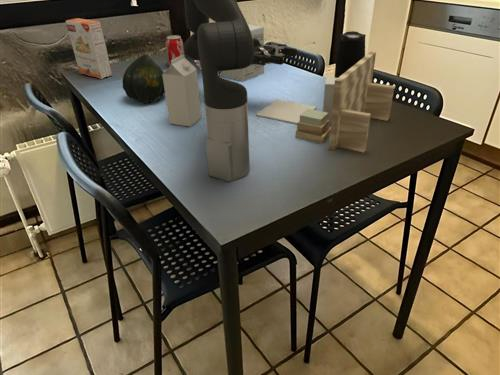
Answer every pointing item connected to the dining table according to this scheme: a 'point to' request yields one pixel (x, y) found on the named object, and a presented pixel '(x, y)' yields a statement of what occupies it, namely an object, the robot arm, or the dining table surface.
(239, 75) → the supplement box
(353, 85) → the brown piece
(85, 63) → the cracker box
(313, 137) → the pine offcut
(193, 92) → the milk carton
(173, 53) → the soda can
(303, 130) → the oak offcut
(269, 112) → the beige mat
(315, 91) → the dining table surface
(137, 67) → the squash
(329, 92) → the skincare box
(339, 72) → the portable speaker
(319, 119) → the sage offcut
